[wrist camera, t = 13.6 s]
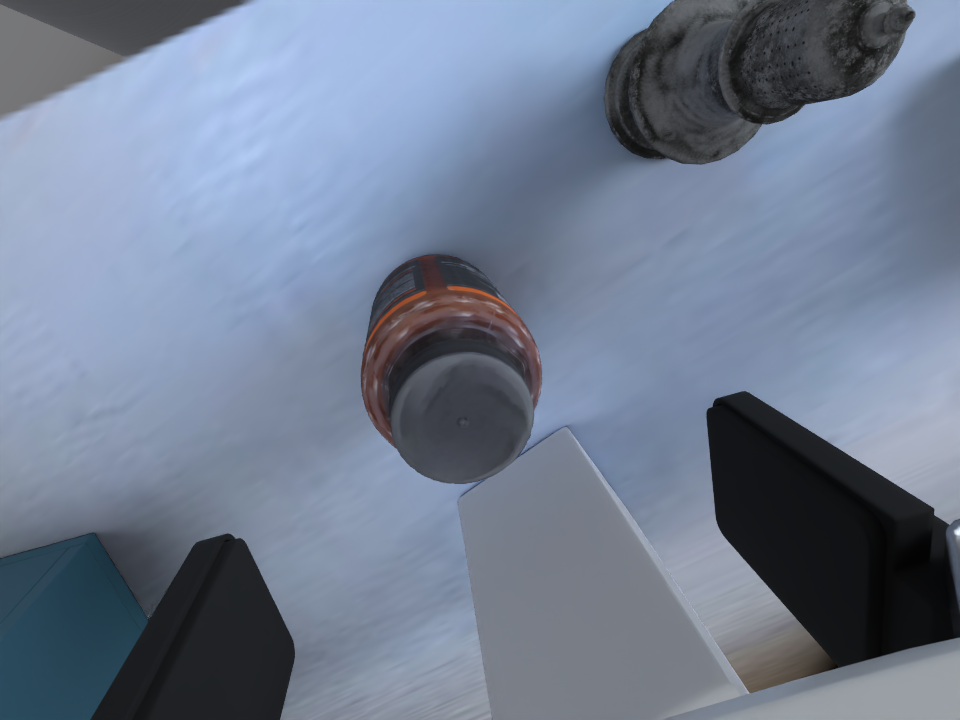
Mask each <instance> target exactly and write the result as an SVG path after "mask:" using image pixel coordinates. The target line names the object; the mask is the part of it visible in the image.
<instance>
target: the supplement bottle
mask: <svg viewBox="0 0 960 720" xmlns="http://www.w3.org/2000/svg"><path fill="white" fill-rule="evenodd" d="M541 385H542V368H541V361H540V355H539V351H538V348H537V346H536V343H535V341H534V339H533V337H532V335H531V333H530V332H529V330H528V328H527V327H526V325H525V324H524V323H523V321H522V320H521V318H520V317H519V316H518V315H517V314H516V312H515V311H514V310H513V309H512V307H511V306H510V305H509V304H508V302H507V301H506V300H505V299H504V297H503V296H502V295H501V294H500V293H499V292H498V290H497V289H496V288H495V287H494V286H493V284H492V283H491V282H490V281H489V279H488V278H487V277H486V276H485V275H484V274H483V273H482V272H481V271H479V270H478V269H477V268H475V267H474V266H472V265H471V264H469V263H468V262H466V261H463V260H461V259H459V258H457V257H452V256H447V255H426V256H422V257H418V258H414V259H411V260H409V261H407V262H405V263H404V264H402V265H401V266H399V267H398V268H396V269H395V270H394V271H393V272H392V273H391V274H390V275H389V276H388V277H387V278H386V279H385V281H384V282H383V284H382V285H381V287H380V289H379V291H378V292H377V295H376V297H375V300H374V302H373V306H372V311H371V316H370V323H369V327H368V333H367V338H366V343H365V349H364V353H363V360H362V368H361V388H362V396H363V400H364V404H365V407H366V410H367V412H368V415H369V417H370V419H371V421H372V422H373V424H374V426H375V427H376V429H377V430H378V431H379V432H380V434H381V435H382V436H383V437H384V438H385V439H386V440H387V441H388V442H389V443H390V444H391V445H392V446H394V447H395V448H397V450H398V452H399V453H400V455H401V457H402V458H403V459H404V460H405V461H406V462H407V464H408V465H409V466H411V467H412V468H413V469H415V470H416V471H417V472H418V473H420V474H422V475H424V476H426V477H428V478H430V479H432V480H436V481H440V482H444V483H454V484H466V483H472V482H477V481H480V480H483V479H486V478H488V477H492V476H494V475H495V474H497V473H499V472H500V471H502V470H504V469H505V468H506V467H507V466H509V465H510V464H512V463H513V461H514V460H515V459H516V458H517V457H518V455H519V454H520V453H521V451H522V450H523V448H524V447H525V445H526V443H527V440H528V439H529V438H530V436H531V430H532V427H533V421H534V410H535V407H536V405H537V402H538V398H539V396H540V393H541Z"/></svg>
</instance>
